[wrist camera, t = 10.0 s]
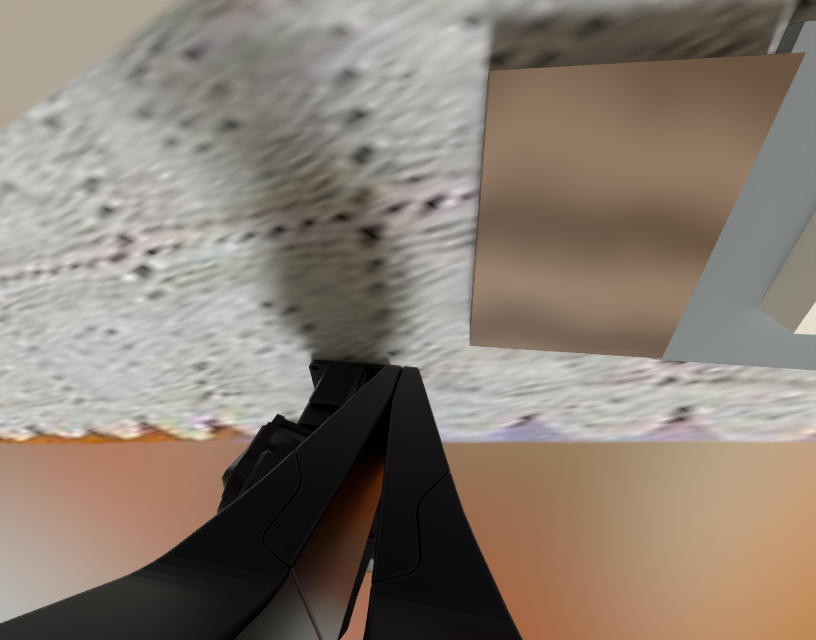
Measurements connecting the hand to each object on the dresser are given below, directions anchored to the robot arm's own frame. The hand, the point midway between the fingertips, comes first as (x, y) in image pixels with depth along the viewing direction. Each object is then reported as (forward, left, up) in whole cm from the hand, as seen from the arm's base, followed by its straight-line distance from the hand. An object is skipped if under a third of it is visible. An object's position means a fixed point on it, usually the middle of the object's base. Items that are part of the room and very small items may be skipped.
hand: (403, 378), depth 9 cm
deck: (0, -8, -13) cm, 15 cm away
